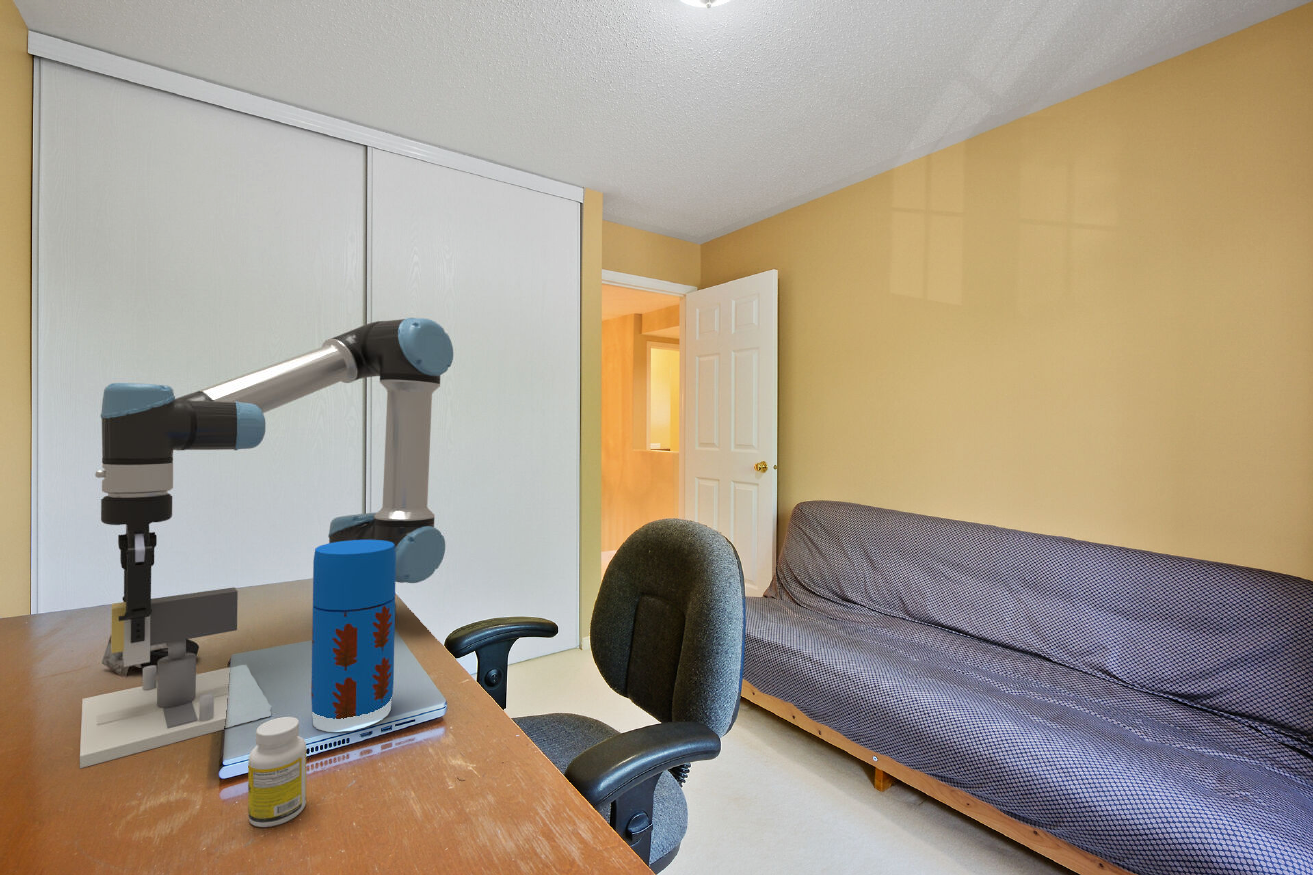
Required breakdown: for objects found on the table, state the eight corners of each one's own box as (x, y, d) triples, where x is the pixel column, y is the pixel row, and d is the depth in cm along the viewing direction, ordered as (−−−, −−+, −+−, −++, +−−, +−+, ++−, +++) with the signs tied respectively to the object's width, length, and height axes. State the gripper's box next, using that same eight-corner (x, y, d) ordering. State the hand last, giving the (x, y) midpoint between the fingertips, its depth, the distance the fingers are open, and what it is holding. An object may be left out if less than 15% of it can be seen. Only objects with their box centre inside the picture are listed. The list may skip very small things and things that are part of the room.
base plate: (245, 672, 101) (246, 625, 101) (271, 716, 86) (272, 661, 86) (82, 708, 87) (82, 654, 87) (79, 768, 72) (80, 703, 72)
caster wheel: (201, 674, 105) (138, 689, 96) (162, 651, 109) (97, 663, 100) (213, 638, 106) (151, 649, 96) (173, 616, 109) (110, 625, 100)
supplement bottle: (265, 797, 68) (266, 713, 68) (315, 796, 68) (316, 712, 68) (236, 830, 62) (237, 738, 62) (290, 828, 63) (291, 737, 63)
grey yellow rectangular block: (233, 641, 92) (234, 586, 92) (236, 647, 90) (237, 590, 90) (110, 665, 83) (111, 603, 82) (111, 671, 80) (111, 608, 80)
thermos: (408, 705, 91) (411, 543, 90) (351, 739, 80) (355, 557, 80) (353, 693, 94) (356, 537, 94) (292, 724, 84) (295, 549, 84)
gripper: (100, 489, 86) (99, 649, 86) (101, 501, 74) (100, 686, 75) (167, 486, 91) (165, 637, 92) (177, 497, 80) (176, 670, 80)
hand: (136, 659), depth 83 cm, fingers closed on grey yellow rectangular block, 3 cm apart
